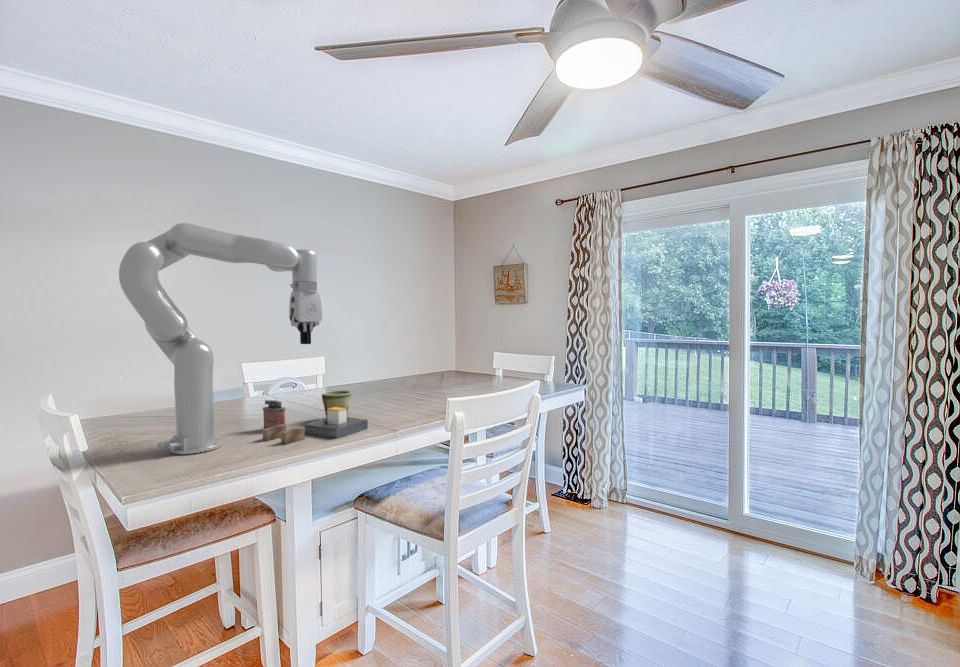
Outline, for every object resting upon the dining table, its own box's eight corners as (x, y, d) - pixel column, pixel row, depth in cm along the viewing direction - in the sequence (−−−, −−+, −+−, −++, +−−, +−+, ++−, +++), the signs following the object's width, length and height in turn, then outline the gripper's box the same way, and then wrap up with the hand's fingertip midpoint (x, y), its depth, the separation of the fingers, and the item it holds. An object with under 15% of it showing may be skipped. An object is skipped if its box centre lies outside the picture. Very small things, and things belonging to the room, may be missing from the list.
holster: (285, 444, 142) (285, 432, 142) (262, 440, 147) (262, 429, 147) (304, 438, 148) (304, 427, 148) (282, 435, 153) (281, 424, 153)
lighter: (288, 429, 161) (287, 399, 160) (281, 431, 157) (280, 401, 157) (268, 428, 163) (267, 398, 162) (261, 430, 160) (260, 400, 159)
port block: (336, 438, 148) (336, 429, 148) (304, 433, 155) (304, 424, 155) (367, 428, 160) (367, 419, 160) (336, 424, 167) (336, 415, 167)
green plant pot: (344, 423, 167) (343, 395, 167) (317, 423, 169) (316, 394, 169) (359, 415, 180) (358, 389, 180) (334, 415, 182) (333, 388, 181)
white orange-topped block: (338, 431, 155) (338, 410, 155) (327, 430, 157) (327, 408, 157) (346, 429, 158) (346, 408, 158) (335, 427, 160) (335, 406, 160)
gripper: (293, 286, 149) (294, 345, 150) (330, 288, 162) (331, 343, 163) (277, 287, 153) (278, 344, 153) (314, 289, 166) (315, 342, 166)
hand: (305, 343), depth 158 cm, fingers closed
